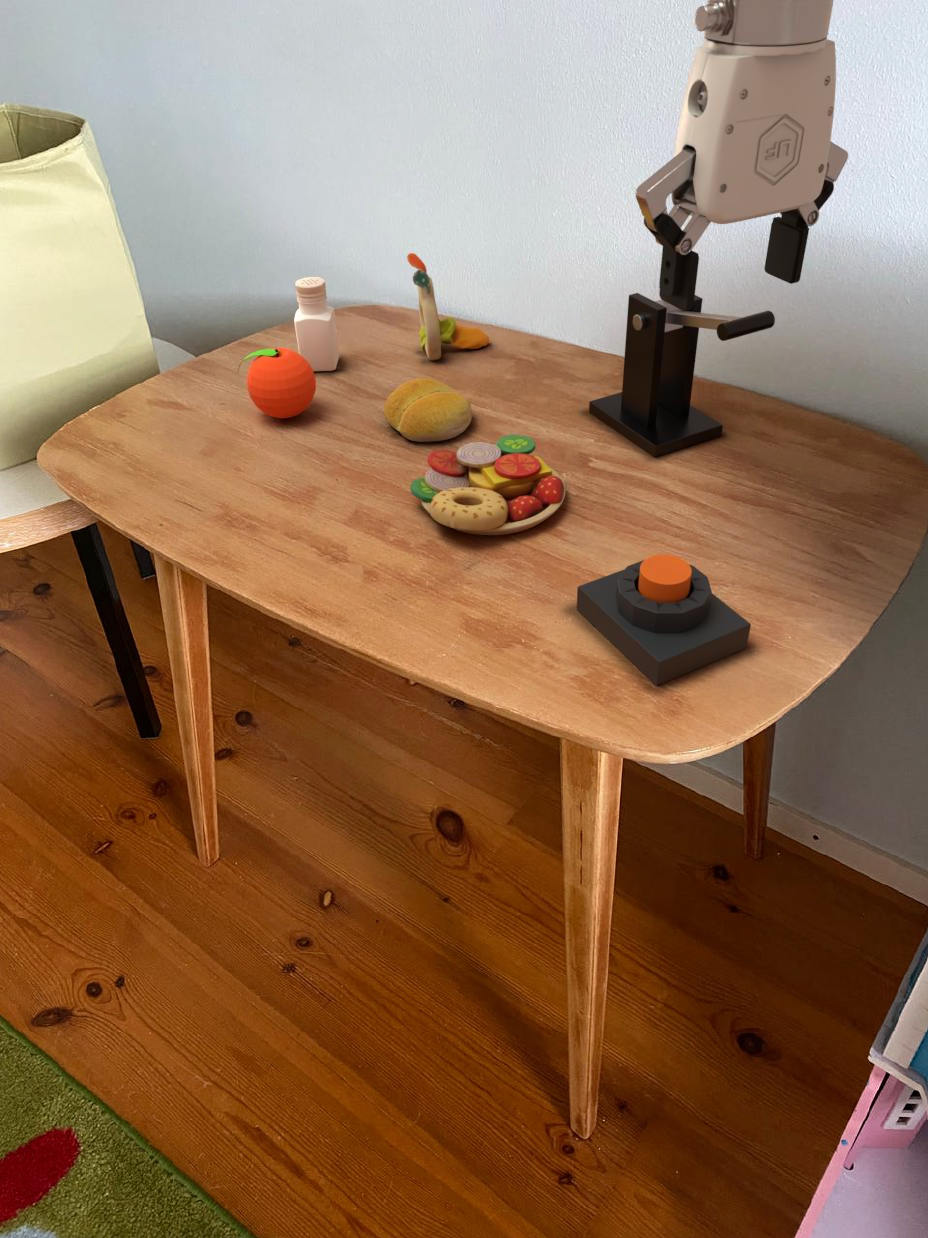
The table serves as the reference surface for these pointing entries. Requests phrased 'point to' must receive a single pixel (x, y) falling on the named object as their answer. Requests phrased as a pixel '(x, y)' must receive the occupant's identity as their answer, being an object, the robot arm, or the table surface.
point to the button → (664, 579)
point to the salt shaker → (316, 325)
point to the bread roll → (427, 411)
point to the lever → (717, 322)
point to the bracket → (657, 384)
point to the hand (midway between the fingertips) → (729, 290)
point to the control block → (663, 624)
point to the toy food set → (490, 487)
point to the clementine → (280, 382)
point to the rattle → (435, 329)
